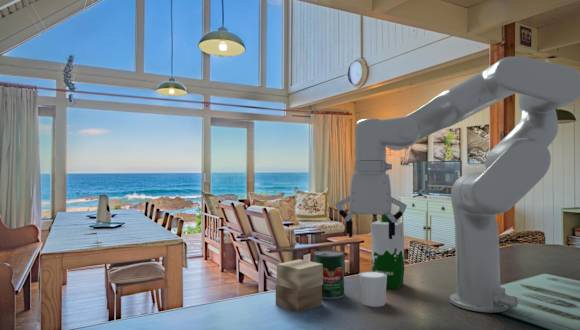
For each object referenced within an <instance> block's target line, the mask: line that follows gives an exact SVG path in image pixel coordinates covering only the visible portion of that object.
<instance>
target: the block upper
mask: <svg viewBox="0 0 580 330" xmlns="http://www.w3.org/2000/svg"><path fill="white" fill-rule="evenodd" d="M276 284H277V285H280V286H283V287H286V288H290V289H293V290H296V291H303V290H306V289H310V288H313V287H317V286H320V285H323V264H320V263H315V262H314V261H310V260H304V259H293V260H290V261H285V262H281V263H280V262H279V263H277V264H276Z"/></svg>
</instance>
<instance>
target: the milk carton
mask: <svg viewBox="0 0 580 330" xmlns="http://www.w3.org/2000/svg"><path fill="white" fill-rule="evenodd" d="M391 214H392V215H393V216H394V215H395V214H393V213H391ZM389 221H390V219H389V218H388V217H387V216H386V214H384V215H381V220H376V221H373V222H371V223H370V229H371V230H370V232H371V234H370V235H371V271H372V272H381V273H385V274H387V283H386V289H390V290H399V289H400V288H401V287H402V285H403V284H404V277H405V237H404V235H405V234H404V222H403V221H399V220H397V221H396V222H395V235H392V239H389Z"/></svg>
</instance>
